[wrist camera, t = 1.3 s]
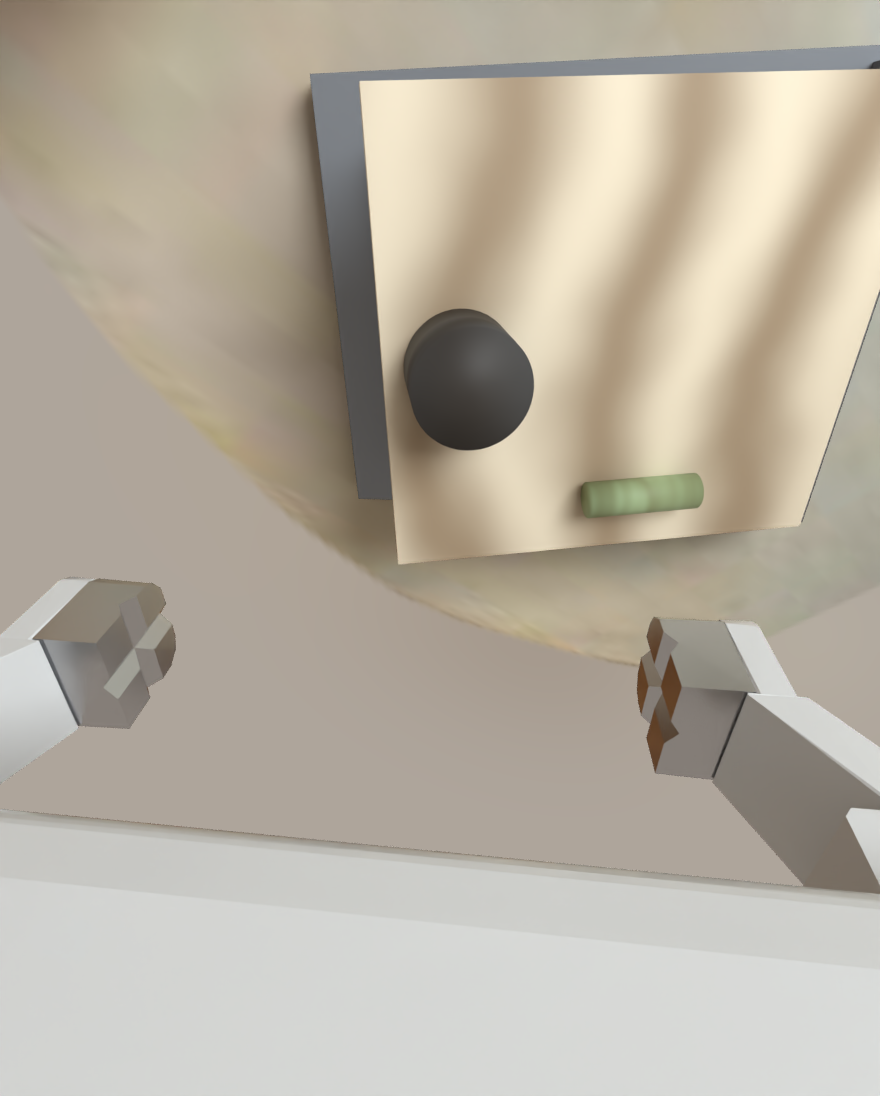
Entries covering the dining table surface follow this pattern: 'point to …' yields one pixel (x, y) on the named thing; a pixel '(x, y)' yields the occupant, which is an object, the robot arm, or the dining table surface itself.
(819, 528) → the dining table surface
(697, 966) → the robot arm
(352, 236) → the base
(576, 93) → the plate
